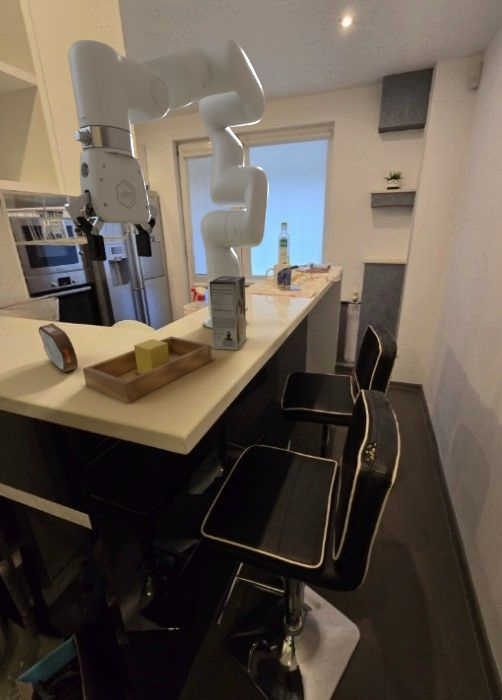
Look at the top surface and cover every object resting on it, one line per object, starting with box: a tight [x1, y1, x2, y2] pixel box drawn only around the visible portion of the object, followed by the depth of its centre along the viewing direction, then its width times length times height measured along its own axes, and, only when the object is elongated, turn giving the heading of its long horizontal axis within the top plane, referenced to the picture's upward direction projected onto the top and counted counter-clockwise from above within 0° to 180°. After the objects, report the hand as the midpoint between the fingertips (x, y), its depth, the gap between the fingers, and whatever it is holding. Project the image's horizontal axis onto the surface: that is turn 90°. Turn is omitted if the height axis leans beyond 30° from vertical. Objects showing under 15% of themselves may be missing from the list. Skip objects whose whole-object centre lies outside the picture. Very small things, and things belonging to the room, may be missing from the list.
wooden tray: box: [82, 335, 213, 404], centre depth 65 cm, size 22×12×4 cm, turn 147°
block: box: [133, 338, 170, 375], centre depth 65 cm, size 4×4×6 cm
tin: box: [38, 322, 79, 373], centre depth 68 cm, size 15×3×8 cm, turn 44°
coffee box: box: [210, 276, 247, 351], centre depth 79 cm, size 9×6×16 cm
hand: (123, 258), depth 58 cm, fingers open, 9 cm apart
